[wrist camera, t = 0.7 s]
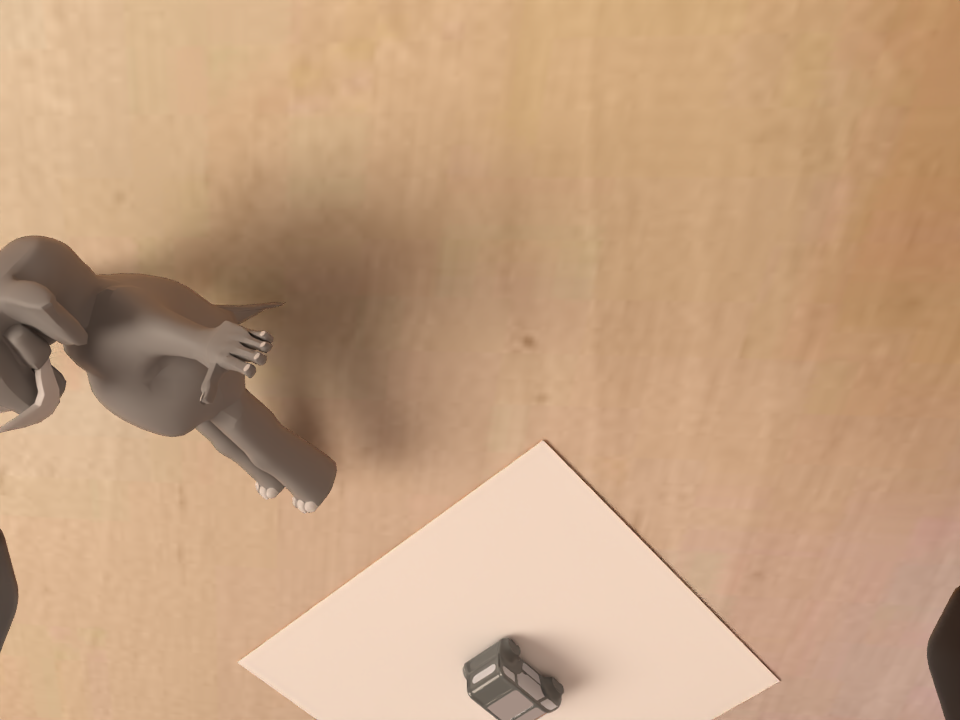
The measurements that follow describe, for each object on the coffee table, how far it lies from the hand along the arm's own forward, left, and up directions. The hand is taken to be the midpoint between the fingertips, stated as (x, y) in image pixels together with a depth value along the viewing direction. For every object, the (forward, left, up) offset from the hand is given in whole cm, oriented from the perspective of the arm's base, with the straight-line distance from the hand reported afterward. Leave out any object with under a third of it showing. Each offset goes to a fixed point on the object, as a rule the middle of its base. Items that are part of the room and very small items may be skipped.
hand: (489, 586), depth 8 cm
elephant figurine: (-6, -1, -13) cm, 15 cm away
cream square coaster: (-2, -15, -13) cm, 20 cm away
